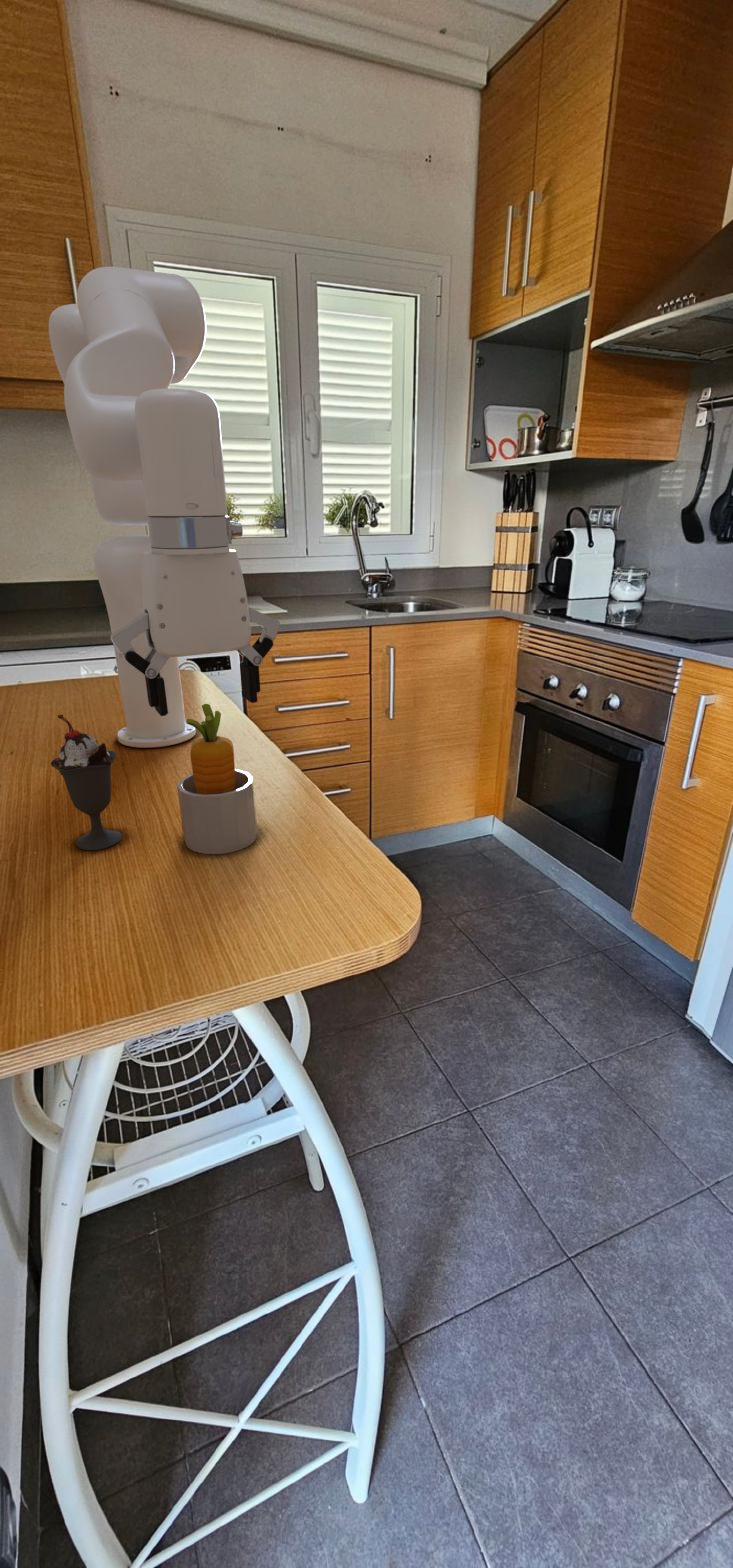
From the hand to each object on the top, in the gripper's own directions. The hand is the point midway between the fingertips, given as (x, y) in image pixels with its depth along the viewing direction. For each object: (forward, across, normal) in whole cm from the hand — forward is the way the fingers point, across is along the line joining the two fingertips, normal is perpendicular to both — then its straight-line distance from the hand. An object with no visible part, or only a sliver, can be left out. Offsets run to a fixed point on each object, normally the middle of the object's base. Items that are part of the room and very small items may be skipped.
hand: (206, 705), depth 73 cm
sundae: (+16, +13, -6) cm, 21 cm away
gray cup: (+16, 0, +1) cm, 16 cm away
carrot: (+15, 0, +1) cm, 15 cm away
